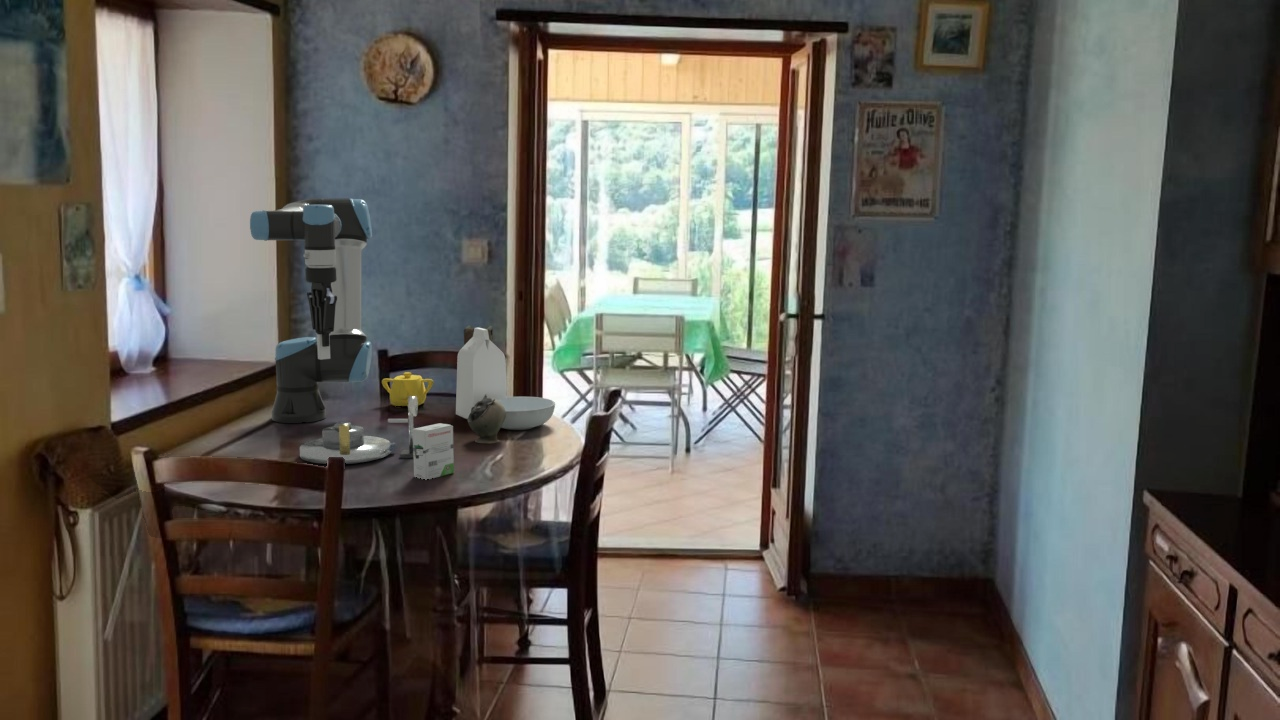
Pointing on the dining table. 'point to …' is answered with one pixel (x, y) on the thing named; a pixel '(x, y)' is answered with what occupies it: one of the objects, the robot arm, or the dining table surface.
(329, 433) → the cover
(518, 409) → the serving bowl
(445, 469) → the ink box
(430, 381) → the teapot
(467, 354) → the milk
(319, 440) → the turntable
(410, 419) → the rod on square base
